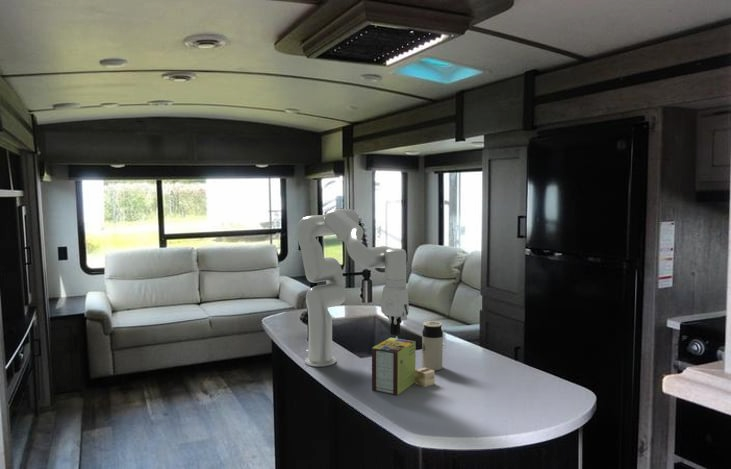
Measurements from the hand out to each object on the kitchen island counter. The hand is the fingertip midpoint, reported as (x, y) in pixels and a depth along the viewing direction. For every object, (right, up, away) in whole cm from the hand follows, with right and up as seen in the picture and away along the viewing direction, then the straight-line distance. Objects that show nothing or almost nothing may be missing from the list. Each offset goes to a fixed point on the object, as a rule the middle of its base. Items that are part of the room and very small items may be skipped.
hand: (395, 334), depth 196 cm
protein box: (0, -19, +2) cm, 19 cm away
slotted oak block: (+11, -19, +4) cm, 22 cm away
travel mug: (+16, -18, +22) cm, 32 cm away
